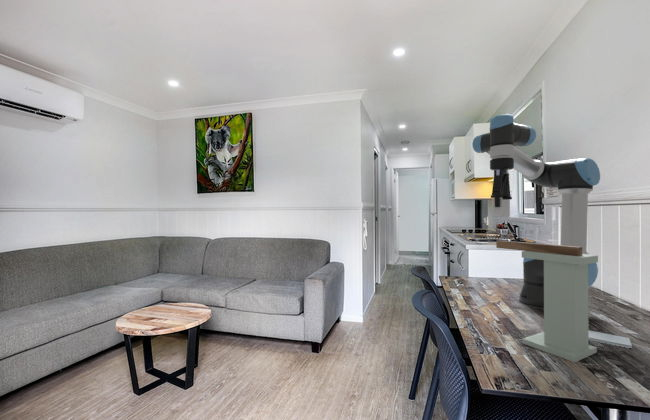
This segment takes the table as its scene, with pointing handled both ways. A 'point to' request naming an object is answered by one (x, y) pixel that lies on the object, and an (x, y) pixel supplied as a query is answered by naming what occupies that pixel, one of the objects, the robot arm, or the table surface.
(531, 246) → the walnut bar
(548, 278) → the sage stand
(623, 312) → the table surface
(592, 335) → the hard drive
